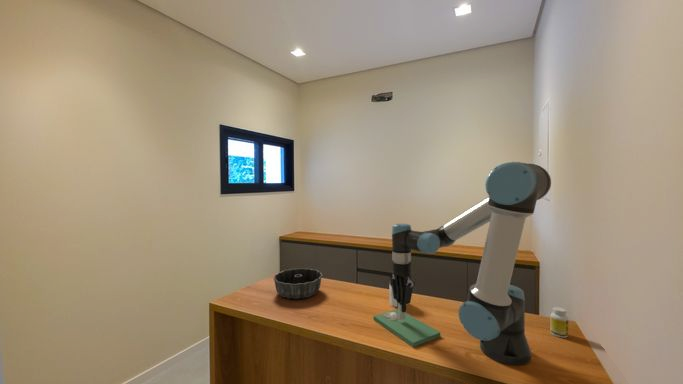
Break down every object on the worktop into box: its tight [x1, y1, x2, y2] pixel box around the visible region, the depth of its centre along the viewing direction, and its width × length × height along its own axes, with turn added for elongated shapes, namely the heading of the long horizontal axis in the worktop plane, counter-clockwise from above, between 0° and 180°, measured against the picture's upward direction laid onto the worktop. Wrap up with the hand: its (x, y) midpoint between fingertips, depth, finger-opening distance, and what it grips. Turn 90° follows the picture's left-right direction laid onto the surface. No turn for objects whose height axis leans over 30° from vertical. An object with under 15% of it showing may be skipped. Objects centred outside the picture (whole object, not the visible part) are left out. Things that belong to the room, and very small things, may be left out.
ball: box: [389, 312, 398, 319], centre depth 119 cm, size 4×4×4 cm
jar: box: [388, 278, 408, 308], centre depth 136 cm, size 9×8×12 cm
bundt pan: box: [273, 267, 323, 300], centre depth 152 cm, size 26×26×10 cm
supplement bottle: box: [550, 306, 569, 339], centre depth 106 cm, size 5×5×10 cm
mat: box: [373, 308, 441, 348], centre depth 113 cm, size 24×14×2 cm, turn 29°
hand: (401, 318), depth 115 cm, fingers closed
